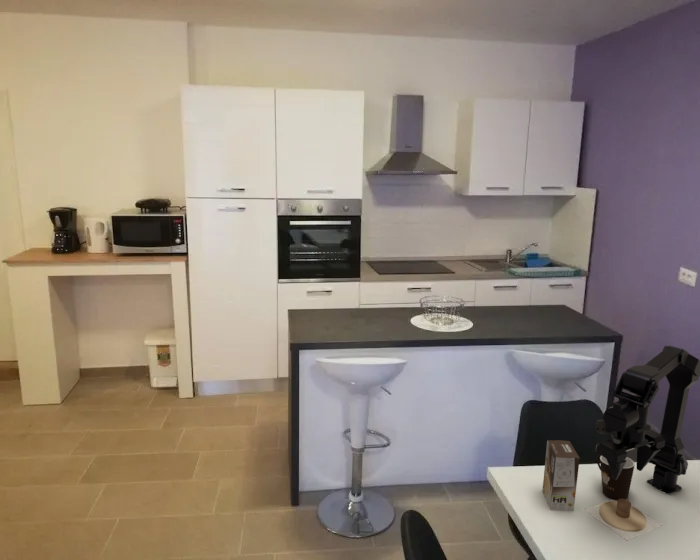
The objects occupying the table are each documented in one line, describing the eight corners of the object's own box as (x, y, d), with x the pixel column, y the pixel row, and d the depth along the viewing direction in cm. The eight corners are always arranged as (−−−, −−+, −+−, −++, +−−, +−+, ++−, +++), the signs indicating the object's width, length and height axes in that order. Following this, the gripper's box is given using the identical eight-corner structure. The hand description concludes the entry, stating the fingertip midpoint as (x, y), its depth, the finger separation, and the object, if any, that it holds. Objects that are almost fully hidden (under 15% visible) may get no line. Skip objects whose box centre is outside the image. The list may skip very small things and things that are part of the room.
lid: (618, 500, 148) (620, 485, 147) (655, 524, 138) (657, 508, 137) (589, 511, 143) (591, 496, 142) (626, 536, 134) (628, 520, 133)
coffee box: (574, 513, 143) (581, 458, 140) (549, 511, 144) (555, 457, 140) (564, 492, 152) (570, 440, 149) (540, 490, 153) (546, 439, 149)
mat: (617, 498, 150) (617, 497, 149) (661, 527, 138) (661, 525, 138) (583, 511, 144) (584, 509, 144) (626, 541, 133) (627, 540, 132)
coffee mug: (636, 504, 146) (638, 469, 144) (602, 501, 148) (604, 466, 146) (624, 482, 157) (626, 450, 156) (592, 480, 159) (594, 448, 157)
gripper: (631, 399, 146) (624, 451, 150) (581, 412, 138) (575, 467, 142) (670, 416, 136) (661, 471, 140) (619, 432, 128) (611, 490, 132)
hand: (626, 474), depth 138 cm, fingers open, 9 cm apart
